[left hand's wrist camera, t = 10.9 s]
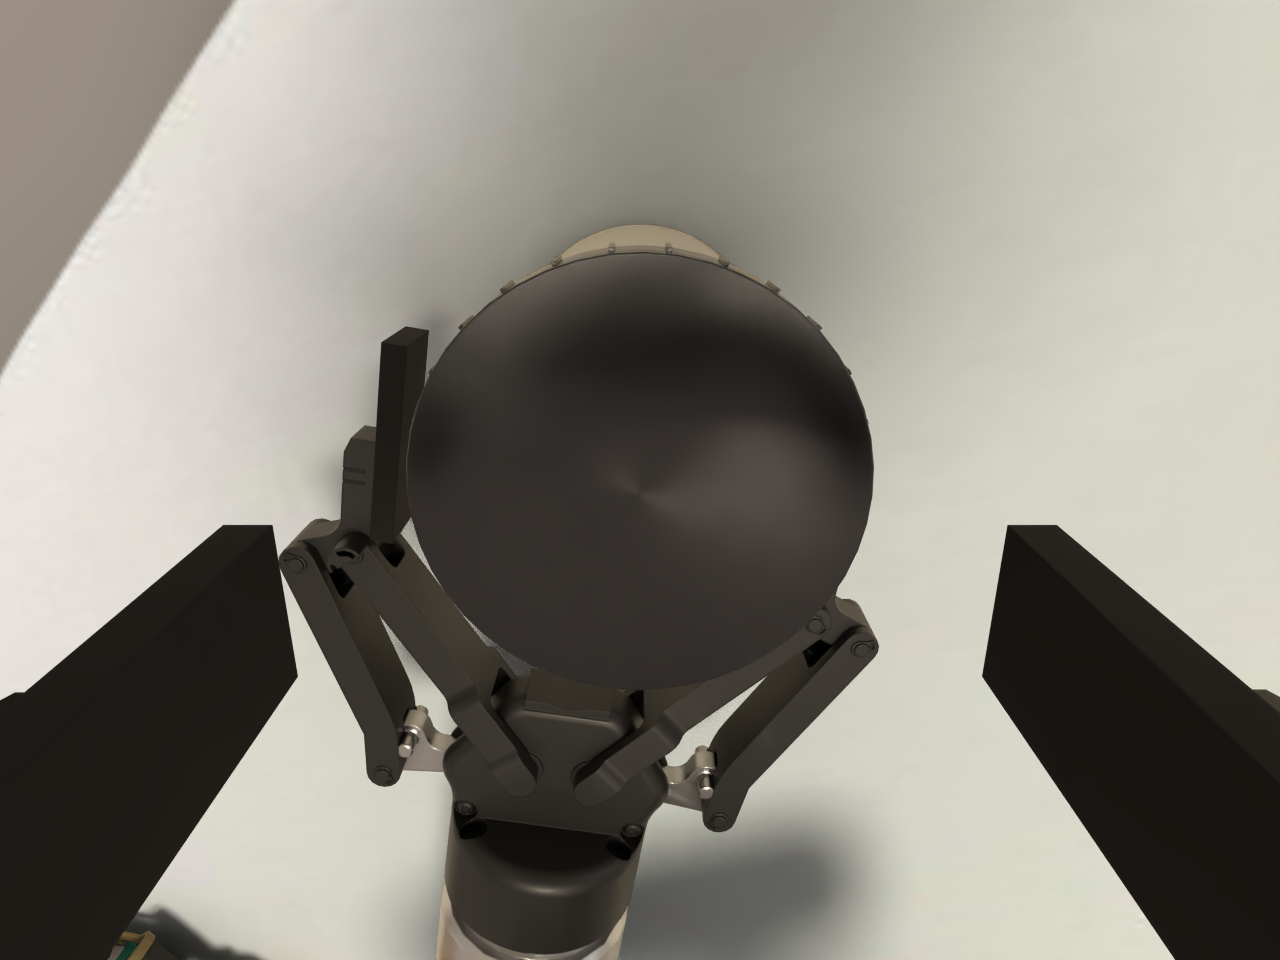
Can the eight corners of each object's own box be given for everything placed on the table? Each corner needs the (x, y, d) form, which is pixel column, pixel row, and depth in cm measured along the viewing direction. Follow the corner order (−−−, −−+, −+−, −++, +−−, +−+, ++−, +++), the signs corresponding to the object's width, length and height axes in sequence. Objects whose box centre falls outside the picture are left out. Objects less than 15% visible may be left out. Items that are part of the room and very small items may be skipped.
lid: (599, 720, 22) (596, 764, 20) (329, 423, 19) (301, 446, 17) (937, 508, 20) (963, 538, 18) (690, 138, 17) (695, 135, 15)
